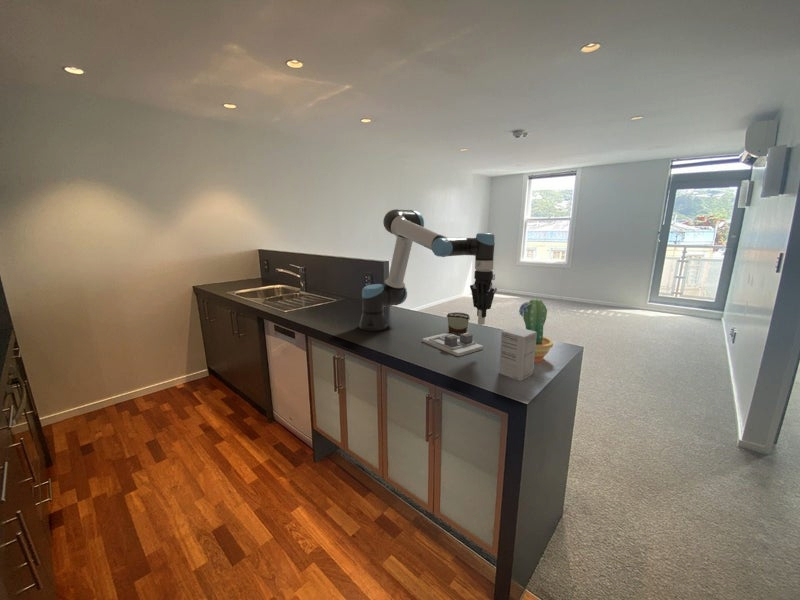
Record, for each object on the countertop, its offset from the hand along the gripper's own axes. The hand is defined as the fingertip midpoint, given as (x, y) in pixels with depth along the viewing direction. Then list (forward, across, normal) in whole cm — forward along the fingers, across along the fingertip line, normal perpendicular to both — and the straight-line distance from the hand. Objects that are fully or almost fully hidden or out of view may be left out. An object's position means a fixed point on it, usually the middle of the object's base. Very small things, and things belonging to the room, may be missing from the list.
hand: (481, 324), depth 146 cm
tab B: (+11, -8, 0) cm, 14 cm away
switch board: (+13, -13, -4) cm, 19 cm away
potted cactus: (+13, +18, +13) cm, 26 cm away
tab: (+11, -10, -8) cm, 17 cm away
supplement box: (+13, +24, -7) cm, 28 cm away
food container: (+13, -26, +14) cm, 32 cm away
